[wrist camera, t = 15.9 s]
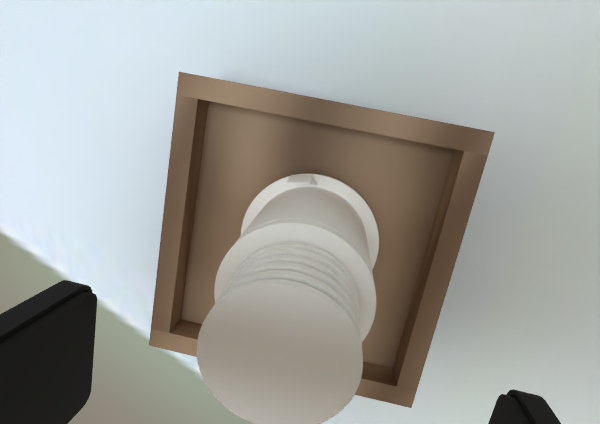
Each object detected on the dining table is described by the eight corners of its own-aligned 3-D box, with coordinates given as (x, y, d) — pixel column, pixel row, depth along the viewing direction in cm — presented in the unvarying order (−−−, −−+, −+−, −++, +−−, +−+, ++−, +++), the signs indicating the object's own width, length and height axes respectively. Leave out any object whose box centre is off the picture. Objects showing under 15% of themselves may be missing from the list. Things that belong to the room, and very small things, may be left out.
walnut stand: (458, 130, 22) (494, 132, 17) (397, 348, 25) (411, 407, 20) (217, 83, 23) (178, 71, 18) (188, 300, 26) (149, 345, 21)
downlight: (239, 161, 20) (139, 217, 10) (381, 162, 19) (420, 224, 9) (246, 305, 22) (169, 465, 12) (375, 312, 21) (400, 486, 11)
